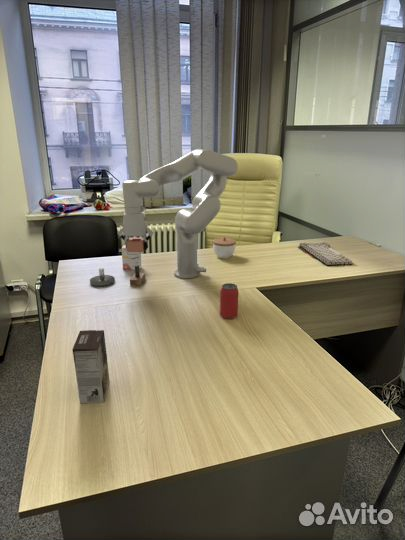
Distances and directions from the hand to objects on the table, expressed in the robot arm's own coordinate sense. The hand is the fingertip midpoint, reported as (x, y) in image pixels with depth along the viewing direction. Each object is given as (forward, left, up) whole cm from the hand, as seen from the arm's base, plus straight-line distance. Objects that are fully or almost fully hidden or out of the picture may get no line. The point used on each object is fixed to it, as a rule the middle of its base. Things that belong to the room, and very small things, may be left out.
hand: (137, 249), depth 165 cm
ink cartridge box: (+8, -18, -16) cm, 25 cm away
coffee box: (-10, +76, -16) cm, 79 cm away
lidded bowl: (-37, -43, -16) cm, 58 cm away
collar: (0, 0, 0) cm, 0 cm away
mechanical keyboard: (-93, -53, -17) cm, 108 cm away
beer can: (-43, +28, -16) cm, 53 cm away
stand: (0, 0, -16) cm, 16 cm away
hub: (+16, +2, -16) cm, 23 cm away
